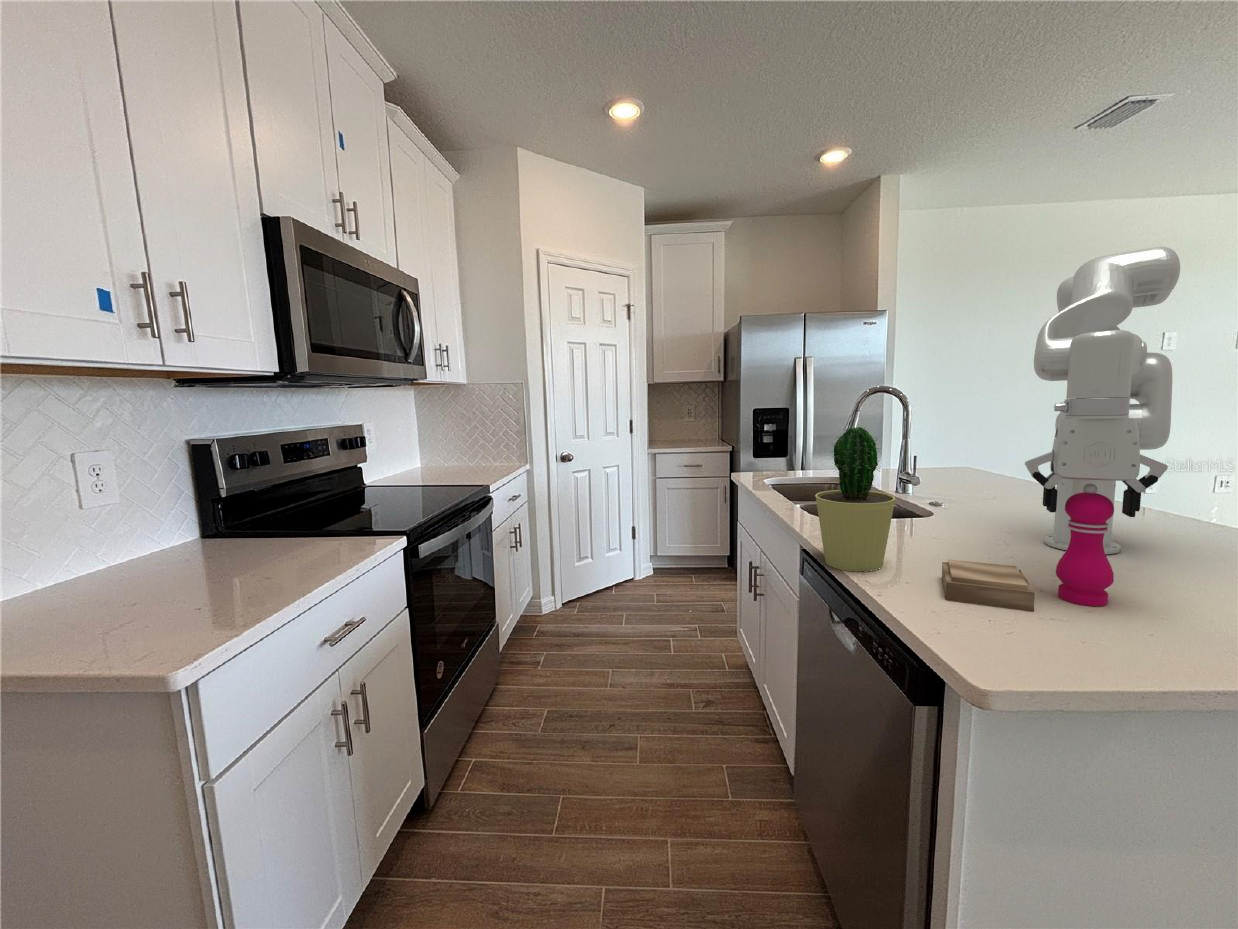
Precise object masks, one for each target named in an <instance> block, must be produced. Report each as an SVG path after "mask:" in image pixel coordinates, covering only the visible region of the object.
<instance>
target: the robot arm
mask: <svg viewBox="0 0 1238 929" xmlns="http://www.w3.org/2000/svg"><path fill="white" fill-rule="evenodd" d="M1180 273H1181V262H1180V258H1179V256H1178V253H1177V252H1176V251H1175V250H1174V249H1172V248H1170V247H1167V246H1156V247H1149V248H1142V249H1137V250H1130V251H1125V252H1120V253H1114V254H1113V253H1112V254H1106V255H1105V254H1104V255H1102V256H1098V257H1095V258H1092V259H1090V260H1088V261H1086V262H1084V263H1083V264H1082V265H1081V266H1080V267H1079V268H1078V269H1077V270H1076V271H1075V273H1074V275H1073V276H1071V277H1068V278H1067V279H1065V280H1063V281H1062V282H1061V283H1060V284H1059V285H1058V288H1057V291H1056V304H1057V311H1058V312H1057V313H1055V314H1054V315H1052V317H1050V318H1049V319H1048V320H1047V321H1046V322H1045V323H1044V324H1043V325H1042V327H1041V328H1040V330H1039V332H1038V333H1037V337H1036V342H1035V350H1034V353H1033V354H1034V355H1033V370H1034V372H1035V374H1036V375H1037V377H1039V379H1041V380H1044V381H1048V382H1059V381H1061V382H1062V381H1065V382H1066V398H1065V399H1064V401H1063V402H1060V403H1054V405H1053V408H1054V409H1053V411H1054V412H1059V413H1058V414H1057V416H1056V418H1055V423H1054V424H1055V426H1054V427H1055V433H1054V438H1053V439H1054V440H1053V444H1052V450H1051V451H1049V452H1047V453H1044V454H1042V455H1039V456H1037V457H1036V456H1035V457H1034V458H1031V459H1028V460H1026V461H1025V462H1024V465H1025V467H1026V469H1027V471H1028V472H1029V474H1030V476H1031V477H1032V478H1033V479H1034V480H1035V481H1037V483H1039V484H1040V485H1041V486H1042V487H1043V491H1042V506H1043V507H1046V511H1048V512H1049V513H1054V520H1053V521H1054V522H1053V533H1052V534H1049V535H1046V536H1044V538H1043V540H1044V541H1043V542H1044V543H1045V545H1048V546H1049V547H1052V548H1054V549H1058V550H1062V551H1066V550H1067V548H1068V546H1069V543H1070V538H1071V531H1070V529H1069V528H1068V527H1067V526H1068V524H1069V523H1068V520H1070V519H1071V518H1070V516H1069V515H1068V514H1067V513H1066V511H1065V503H1066V501H1067V500H1068V498H1069V497H1071V496H1072V495H1074V494H1077V493H1083V492H1084V490H1083V487H1084V486H1085V485H1086V484H1094V485H1096V486H1097V488H1098V490H1097V492H1096V493H1097V494H1101V495H1103V496H1106V497H1107V498H1109V499H1110V500H1111V502H1112V503H1113V506H1114V507H1115V499H1116V498H1115V496H1116V487H1117V486H1116V484H1117V481H1119V482H1120V481H1121V482H1122V483H1123V484H1124V485H1125V486H1126V489H1124V490H1123V495H1122V508H1121V513H1122V514H1123V515H1125V516H1127V517H1128V518H1135V517H1136V512H1140V510H1141V499H1142V493H1144V492H1145V491H1146V490H1147V489H1148V488H1150V487H1151V486H1153V485H1155V484H1156V483H1158V481H1159V479H1160V478H1162V476H1163V475H1164V474H1165V472H1167V470H1168V468H1169V466H1168V464H1165V463H1164V462H1161V461H1158V460H1156V459H1153V458H1150V457H1148V456H1146V455H1143V454H1141V451H1142V450H1143V451H1146V450H1148V451H1151V450H1157V449H1160V448H1162V447H1164V446H1165V445H1166V444H1167V442H1168V441H1169V438H1170V433H1171V427H1172V405H1173V404H1172V401H1173V398H1172V397H1173V368H1172V363H1171V360H1170V359H1169V357H1167V355H1165V354H1163V353H1159V352H1148V345H1147V343H1146V341H1144V340H1143V339H1142V338H1141V337H1140V336H1139V335H1138V334H1136V333H1133V332H1131V331H1129V330H1123V329H1120V327H1119V325H1120V324H1122V323H1123V322H1125V320H1126V319H1128V317H1129V316H1130V315H1131V313H1132V311H1133V309H1134V308H1142V307H1144V308H1145V307H1150V306H1151V307H1152V306H1157V305H1160V304H1162V303H1163V302H1165V301H1166V300H1167V299H1168V298H1169V296H1170V295H1171V293H1172V292H1173V290H1174V289H1175V287H1176V286H1177V283H1178V281H1179V278H1180ZM1131 400H1135V401H1136V402H1138V404H1137V403H1131ZM1049 462H1050V466H1049V467H1050V472H1051V473H1050V474H1049V475H1047V476H1045V475H1043V474H1042V473H1041V471H1040V470H1039V466H1041V465H1044V464H1047V463H1049ZM1141 465H1143V466H1145V467H1148V469H1149V471H1148V472H1147V474H1145V475H1143V476H1142V477H1140V478H1139V479H1137V478H1138V477H1139V475H1140V467H1141ZM1113 521H1114V515H1113V516H1112V517H1111V518H1110V519H1108V520H1107V521H1106V523H1108V525H1109V526H1108V528H1107V529H1108V532H1107V533H1104V538H1103V547H1104V552H1105V554H1106V555H1114V554H1118V553H1120V552H1121V549H1122V548H1121V545H1120V544H1119V543H1117V542H1115V541H1113V540H1112V534H1113V523H1114V522H1113Z"/></svg>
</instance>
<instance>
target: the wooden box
mask: <svg viewBox="0 0 1238 929" xmlns="http://www.w3.org/2000/svg"><path fill="white" fill-rule="evenodd" d="M941 567H942V568H941V581H942V586H943V591H944V596H945V601H951V602H959V603H966V604H976V605H981V606H989V607H996V608H997V607H998V608H1005V609H1012V610H1019V609H1020V611H1027V612H1035V611H1034V610H1035V600H1036V593H1035V590H1034V589H1033V588H1032V585H1031V584H1030V582H1029V581H1028V579H1027V578H1026V576H1025V574H1024V573H1023V572H1022V569H1018V567H1017V566H1016V565H1007V564H997V563H985V562H979V561H978V562H975V561H967V560H958V559H957V560H956V559H947V561H942V563H941Z"/></svg>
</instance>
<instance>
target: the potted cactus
mask: <svg viewBox="0 0 1238 929" xmlns="http://www.w3.org/2000/svg"><path fill="white" fill-rule="evenodd" d="M866 427H867V426H866ZM866 427H861V426H856V427H851V426H850V427H849V428H848V429H847V428H843V433H842V434H841V435H840V436H839V437H838V438H837V440H836V442H834V443H831V446H833V456H832V458H828V459H831V460H833V463H834V465H833V467H835V470H834V471H833V473H835V472H837V471H838V475H837V478H838V479H837V482H838V483H839V488H840V489H834V490H833V489H832V490H826V491H825V490H824V491H819V492H817V493H816V494H815V495H814V496H815V499H816V500H815V502H816V508H817V514H818V520H819V528H820V534H821V542H822V547H823V548H822V549H823V555H824V560H825V563H826V564H827V565H828V566H830V567H832V568H834V569H836V570H841V571H845V570H846V572H852V571H864V572H863V573H866V572H865V571H871V570H876V569H879V568H881V567H882V568H883V565H884V562H885V561H884V560H885V555H886V549H887V544H888V539H889V534H890V529H891V523H892V518H893V514H894V508H895V500H896V497H895V496H894V495H892V494H889V493H887V492H886V493H884V492H881V491H880V492H879V491H872V487H873V488H875V485H873V482H874V480H876V479H875V476H877V475H874V474H877V469H878V472H879V473H881V470H883V469H882V468H880V467H881V466H879V463H880V460H878V458H879V457H878V452H879V451H880V450H881V449H882V448H879V447H877V445H878V443H877V441H878V439H879V438H877V436H875V437H873V436H872V435H870V433H869V432H870V431H869V430H867V428H866ZM876 443H877V444H876ZM829 453H831V454H832V451H829ZM879 469H881V470H879ZM882 568H881V569H882ZM879 570H880V569H879ZM876 571H877V570H876ZM871 572H872V571H871Z"/></svg>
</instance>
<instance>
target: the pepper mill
mask: <svg viewBox="0 0 1238 929" xmlns="http://www.w3.org/2000/svg"><path fill="white" fill-rule="evenodd" d="M1083 490H1084V492H1083V493H1077V494H1074V495H1072V496H1071V497H1069V498H1068V500H1067V501H1066V503H1065V511H1066V513H1067V514H1068V515H1069V516H1070V518H1071V519H1070V520H1068V523H1069V524H1068V526H1067V527H1068V528H1069V529H1070V531H1071V538H1070V543H1069V546H1068V548H1067V550H1065V552H1064V553H1063V554H1062V556H1061V557H1060V558H1059V560H1058V562H1057V564H1056V567H1055V576H1056V577H1057V579H1058V580H1059V581H1060V582H1062V583H1060V584H1058V586H1057V587H1058V589H1057V595H1058V597H1059V598H1060V599H1062V600H1063V601H1065V602H1068V603H1071V604H1072V603H1073V604H1076V605H1081V606H1086V607H1087V606H1088V607H1104V606H1106V605H1107V604H1108V603H1109V592H1107V591H1106V589H1107V588H1109V587H1110V586H1112V584H1113V583H1114V581H1115V580H1114V579H1115V578H1114V577H1115V576H1114V572H1113V568H1112V564H1110V561H1109V558H1108V557H1107V554H1105V552H1104V547H1103V538H1104V533H1107V532H1108V529H1107V528H1108V526H1109V525H1108V523H1106V521H1107V520H1108V519H1110V518H1111V517H1112V516H1113V517H1114V514H1115V505H1114V506H1113V503H1112V502H1111V500H1110V499H1109V498H1107V497H1106V496H1103V495H1101V494H1097V493H1096V492H1097V490H1098V488H1097V486H1096V485H1094V484H1086V485H1085V486H1084V487H1083Z"/></svg>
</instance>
